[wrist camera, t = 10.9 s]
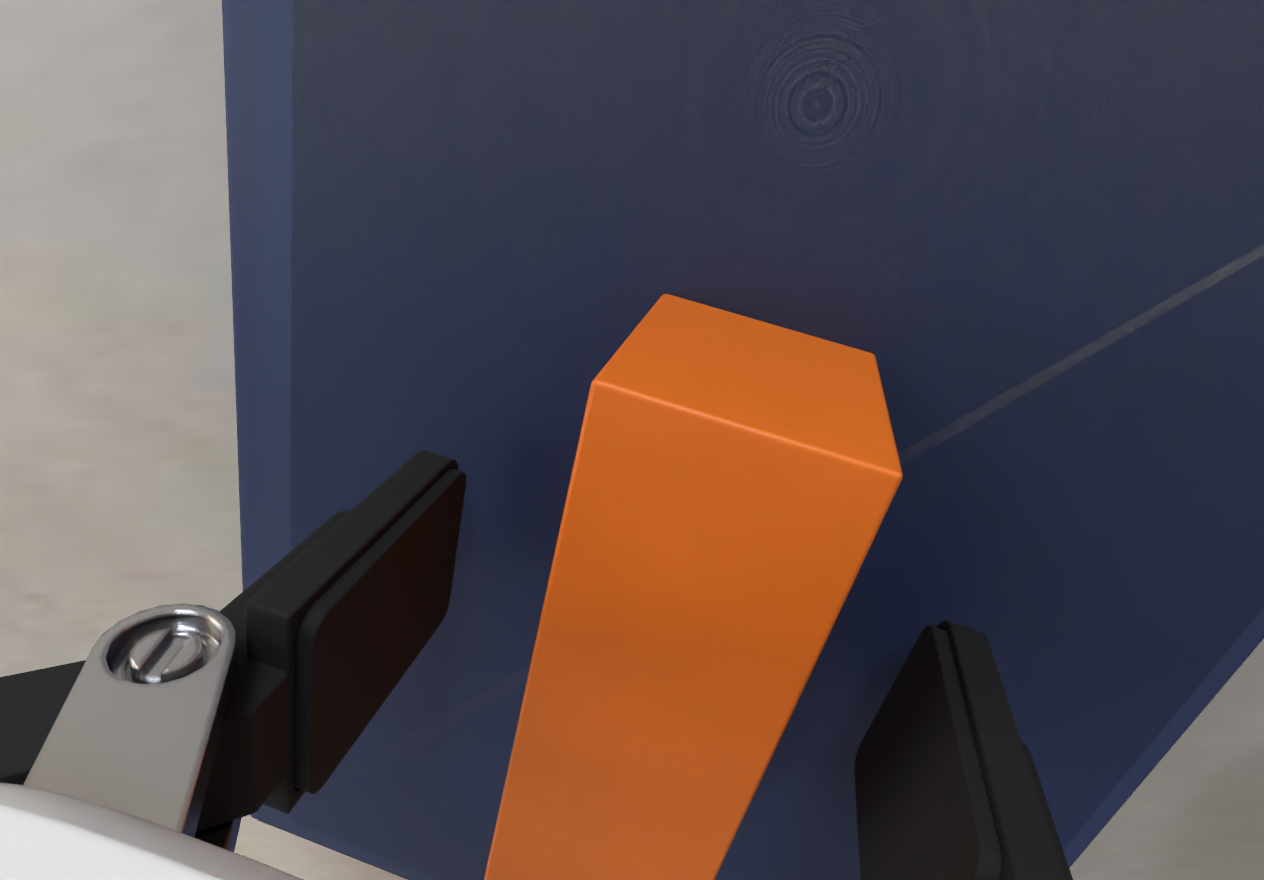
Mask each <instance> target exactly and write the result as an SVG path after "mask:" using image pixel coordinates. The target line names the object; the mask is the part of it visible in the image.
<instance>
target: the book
mask: <svg viewBox="0 0 1264 880" xmlns="http://www.w3.org/2000/svg"><path fill="white" fill-rule="evenodd" d="M222 13H223V41H224V70H225V98H226V127H227V155H228V183H229V212H230V240H231V269H232V297H233V325H234V354H235V382H236V411H237V439H238V467H239V496H240V524H241V553H242V581H243V591H245V590H246V589H247V588H248V587H249V586H251V585H252V584H253V583H254V582H255V581H256V580H258V579H259V578H260V577H261V576H262V575H263V574H265V573H266V572H267V571H268V570H269V569H271V568H272V567H273V566H274V565H275V564H276V563H278V562H279V561H280V560H281V559H282V558H284V557H285V556H286V555H287V554H288V553H289V552H291V551H292V550H293V549H294V548H295V547H296V546H298V545H299V544H300V543H301V542H302V541H304V540H305V539H306V538H307V537H308V536H309V535H311V534H312V533H313V532H314V531H315V530H316V529H318V528H319V527H320V526H321V525H322V524H324V523H325V522H326V521H327V520H328V519H329V518H331V517H332V516H333V515H335V514H336V513H338V512H340V511H351V510H352V509H353V508H354V507H355V506H356V505H357V504H359V503H360V502H361V501H362V500H363V499H364V498H366V497H367V496H368V495H369V494H370V493H371V492H372V491H374V490H375V489H376V488H377V487H378V486H379V485H380V484H382V483H383V482H384V481H385V480H386V479H387V478H388V477H390V476H391V475H392V474H393V473H394V472H395V471H397V470H398V469H399V468H400V467H401V466H402V465H403V464H405V463H406V462H407V461H408V460H409V459H410V458H411V457H413V456H414V455H415V454H416V453H417V452H419V451H420V450H426V451H429V452H432V453H435V454H438V455H441V456H444V457H447V458H450V459H454V460H456V461H457V463H458V471H461V472H464V473H465V474H466V488H465V495H464V502H463V509H462V517H461V524H460V531H459V538H458V546H457V553H456V560H455V567H454V575H453V582H452V589H451V596H450V602H449V606H448V610H447V612H446V615H445V617H444V619H443V621H442V622H441V624H440V626H439V627H438V628H437V630H436V631H435V632H434V634H433V635H432V637H431V638H430V639H429V641H428V642H427V643H426V645H425V646H424V648H423V649H422V650H421V652H420V653H419V655H418V656H417V657H416V659H415V660H414V661H413V663H412V664H411V666H410V667H409V668H408V670H407V671H406V672H405V674H404V675H403V677H402V678H401V679H400V681H399V682H398V684H397V685H396V686H395V688H394V689H393V690H392V692H391V693H390V695H389V696H388V697H387V699H386V700H385V701H384V703H383V704H382V706H381V707H380V708H379V710H378V711H377V713H376V714H375V715H374V717H373V718H372V719H371V721H370V722H369V724H368V725H367V726H366V728H365V729H364V730H363V732H362V733H361V735H360V736H359V737H358V739H357V740H356V742H355V743H354V744H353V746H352V747H351V748H350V750H349V751H348V753H347V754H346V755H345V757H344V758H343V759H342V761H341V762H340V764H339V765H338V766H337V768H336V769H335V771H334V772H333V773H332V775H331V776H330V777H329V779H328V780H327V782H326V783H325V784H324V786H323V787H322V788H321V789H320V790H319V791H318V792H317V793H315V794H310V793H308V792H305V793H304V794H303V795H302V797H301V798H300V799H299V801H298V802H297V803H296V805H295V806H294V807H293V809H292V810H291V811H290V813H289V814H286V813H284V812H281V811H279V810H276V809H274V808H271V807H269V806H266V805H263V804H262V806H261V807H260V808H259V810H258V811H257V812H256V813H253V814H251V816H252V817H253V818H255V819H258V820H259V821H261V822H264V823H266V824H269V825H271V826H274V827H276V828H279V829H282V830H284V831H287V832H289V833H292V834H294V835H297V836H299V837H302V838H304V839H307V840H309V841H312V842H314V843H317V844H319V845H322V846H324V847H327V848H330V849H332V850H335V851H337V852H340V853H342V854H345V855H347V856H350V857H352V858H355V859H357V860H360V861H362V862H365V863H367V864H370V865H372V866H375V867H378V868H380V869H383V870H385V871H388V872H390V873H393V874H395V875H398V876H400V877H403V878H405V879H408V880H484V877H485V873H486V868H487V863H488V859H489V854H490V849H491V845H492V840H493V836H494V831H495V826H496V822H497V817H498V812H499V808H500V803H501V799H502V794H503V789H504V785H505V780H506V775H507V771H508V766H509V761H510V757H511V752H512V748H513V743H514V738H515V734H516V729H517V724H518V720H519V715H520V711H521V706H522V701H523V697H524V692H525V687H526V683H527V678H528V674H529V669H530V664H531V660H532V655H533V650H534V646H535V641H536V637H537V632H538V627H539V623H540V618H541V613H542V609H543V604H544V600H545V595H546V590H547V586H548V581H549V576H550V572H551V567H552V562H553V558H554V553H555V549H556V544H557V539H558V535H559V530H560V525H561V521H562V516H563V512H564V507H565V502H566V498H567V493H568V488H569V484H570V479H571V475H572V470H573V465H574V461H575V456H576V451H577V447H578V442H579V438H580V433H581V428H582V424H583V419H584V414H585V410H586V405H587V400H588V396H589V391H590V387H591V382H592V381H593V380H594V379H595V377H596V376H597V375H598V374H599V372H600V371H601V370H602V369H603V367H604V366H605V365H606V364H607V362H608V361H609V360H610V359H611V358H612V356H613V355H614V354H615V353H616V351H617V350H618V349H619V348H620V346H621V345H622V344H623V343H624V342H625V340H626V339H627V338H628V337H629V335H630V334H631V333H632V332H633V330H634V329H635V328H636V327H637V326H638V324H639V323H640V322H641V321H642V319H643V318H644V317H645V316H646V314H647V313H648V312H649V311H650V310H651V308H652V307H653V306H654V305H655V303H656V302H657V301H658V300H659V298H660V297H661V296H662V295H663V294H670V295H673V296H677V297H680V298H683V299H687V300H690V301H694V302H697V303H701V304H704V305H708V306H711V307H714V308H718V309H721V310H725V311H728V312H732V313H735V314H739V315H742V316H746V317H749V318H752V319H756V320H759V321H763V322H766V323H770V324H773V325H777V326H780V327H783V328H787V329H790V330H794V331H797V332H801V333H804V334H808V335H811V336H814V337H818V338H821V339H825V340H828V341H832V342H835V343H839V344H842V345H846V346H849V347H852V348H856V349H859V350H863V351H866V352H870V353H873V354H874V355H875V357H876V361H877V366H878V370H879V374H880V379H881V383H882V387H883V392H884V396H885V400H886V405H887V409H888V413H889V418H890V422H891V426H892V430H893V435H894V439H895V443H896V448H897V452H898V456H899V461H900V465H901V469H902V476H903V478H902V480H901V483H900V485H899V487H898V489H897V491H896V493H895V495H894V498H893V500H892V502H891V504H890V506H889V508H888V510H887V512H886V515H885V517H884V519H883V521H882V523H881V525H880V527H879V530H878V532H877V534H876V536H875V538H874V540H873V542H872V545H871V547H870V549H869V551H868V553H867V555H866V557H865V559H864V562H863V564H862V566H861V568H860V570H859V572H858V574H857V577H856V579H855V581H854V583H853V585H852V587H851V589H850V592H849V594H848V596H847V598H846V600H845V602H844V604H843V606H842V609H841V611H840V613H839V615H838V617H837V619H836V621H835V624H834V626H833V628H832V630H831V632H830V634H829V636H828V639H827V641H826V643H825V645H824V647H823V649H822V651H821V653H820V656H819V658H818V660H817V662H816V664H815V666H814V668H813V671H812V673H811V675H810V677H809V679H808V681H807V683H806V685H805V688H804V690H803V692H802V694H801V696H800V698H799V700H798V703H797V705H796V707H795V709H794V711H793V713H792V715H791V718H790V720H789V722H788V724H787V726H786V728H785V730H784V732H783V735H782V737H781V739H780V741H779V743H778V745H777V747H776V750H775V752H774V754H773V756H772V758H771V760H770V762H769V765H768V767H767V769H766V771H765V773H764V775H763V777H762V779H761V782H760V784H759V786H758V788H757V790H756V792H755V794H754V797H753V799H752V801H751V803H750V805H749V807H748V809H747V811H746V814H745V816H744V818H743V820H742V822H741V824H740V826H739V829H738V831H737V833H736V835H735V837H734V839H733V841H732V844H731V846H730V848H729V850H728V852H727V854H726V856H725V858H724V861H723V863H722V865H721V867H720V869H719V871H718V873H717V876H716V878H715V880H860V863H859V845H858V828H857V810H856V792H855V775H854V765H855V758H856V754H857V750H858V747H859V745H860V743H861V741H862V739H863V738H864V736H865V734H866V732H867V730H868V728H869V727H870V725H871V723H872V721H873V719H874V718H875V716H876V714H877V712H878V710H879V708H880V707H881V705H882V703H883V701H884V699H885V697H886V696H887V694H888V692H889V690H890V688H891V686H892V685H893V683H894V681H895V679H896V677H897V676H898V674H899V672H900V670H901V668H902V666H903V665H904V663H905V661H906V659H907V657H908V655H909V654H910V652H911V650H912V648H913V646H914V644H915V643H916V641H917V639H918V637H919V635H920V634H921V632H922V630H923V629H924V628H925V627H926V626H928V625H930V626H933V627H937V626H938V624H939V623H941V622H942V621H945V620H947V621H950V622H953V623H956V624H959V625H962V626H965V627H968V628H971V629H974V630H977V631H980V632H983V633H984V634H986V636H987V638H988V640H989V643H990V647H991V650H992V653H993V656H994V659H995V662H996V665H997V668H998V672H999V675H1000V678H1001V681H1002V684H1003V687H1004V690H1005V693H1006V696H1007V700H1008V703H1009V706H1010V709H1011V712H1012V715H1013V718H1014V721H1015V725H1016V728H1017V731H1018V734H1019V737H1020V740H1021V741H1022V742H1023V743H1024V744H1026V745H1027V747H1028V749H1029V751H1030V753H1031V755H1032V758H1033V761H1034V764H1035V767H1036V770H1037V773H1038V776H1039V779H1040V782H1041V785H1042V788H1043V791H1044V794H1045V797H1046V800H1047V803H1048V806H1049V809H1050V812H1051V815H1052V818H1053V821H1054V824H1055V827H1056V830H1057V833H1058V836H1059V839H1060V842H1061V845H1062V848H1063V851H1064V854H1065V857H1066V860H1067V864H1068V867H1069V868H1070V866H1071V865H1072V864H1073V863H1074V862H1075V861H1076V859H1077V858H1078V857H1079V856H1080V855H1081V853H1082V852H1083V851H1084V850H1085V849H1086V848H1087V846H1088V845H1089V844H1090V843H1091V842H1092V840H1093V839H1094V838H1095V837H1096V836H1097V835H1098V833H1099V832H1100V831H1101V830H1102V829H1103V828H1104V826H1105V825H1106V824H1107V823H1108V822H1109V820H1110V819H1111V818H1112V817H1113V816H1114V815H1115V813H1116V812H1117V811H1118V810H1119V809H1120V807H1121V806H1122V805H1123V804H1124V803H1125V802H1126V800H1127V799H1128V798H1129V797H1130V796H1131V794H1132V793H1133V792H1134V791H1135V790H1136V789H1137V787H1138V786H1139V785H1140V784H1141V783H1142V781H1143V780H1144V779H1145V778H1146V777H1147V776H1148V774H1149V773H1150V772H1151V771H1152V770H1153V768H1154V767H1155V766H1156V765H1157V764H1158V763H1159V761H1160V760H1161V759H1162V758H1163V757H1164V755H1165V754H1166V753H1167V752H1168V751H1169V750H1170V748H1171V747H1172V746H1173V745H1174V744H1175V742H1176V741H1177V740H1178V739H1179V738H1180V737H1181V735H1182V734H1183V733H1184V732H1185V731H1186V730H1187V728H1188V727H1189V726H1190V725H1191V724H1192V722H1193V721H1194V720H1195V719H1196V718H1197V717H1198V715H1199V714H1200V713H1201V712H1202V711H1203V709H1204V708H1205V707H1206V706H1207V705H1208V704H1209V702H1210V701H1211V700H1212V699H1213V698H1214V696H1215V695H1216V694H1217V693H1218V692H1219V691H1220V689H1221V688H1222V687H1223V686H1224V685H1225V683H1226V682H1227V681H1228V680H1229V679H1230V678H1231V676H1232V675H1233V674H1234V673H1235V672H1236V670H1237V669H1238V668H1239V667H1240V666H1241V665H1242V663H1243V662H1244V661H1245V660H1246V659H1247V657H1248V656H1249V655H1250V654H1251V653H1252V652H1253V650H1254V649H1255V648H1256V647H1257V646H1258V644H1259V643H1260V642H1261V641H1262V640H1263V639H1264V0H222Z"/></svg>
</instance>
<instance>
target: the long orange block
mask: <svg viewBox="0 0 1264 880" xmlns="http://www.w3.org/2000/svg"><path fill="white" fill-rule="evenodd" d="M902 478H903V476H902V469H901V465H900V461H899V456H898V452H897V448H896V443H895V439H894V435H893V430H892V426H891V422H890V418H889V413H888V409H887V405H886V400H885V396H884V392H883V387H882V383H881V379H880V374H879V370H878V366H877V361H876V357H875V355H874V354H873V353H870V352H866V351H863V350H859V349H856V348H852V347H849V346H846V345H842V344H839V343H835V342H832V341H828V340H825V339H821V338H818V337H814V336H811V335H808V334H804V333H801V332H797V331H794V330H790V329H787V328H783V327H780V326H777V325H773V324H770V323H766V322H763V321H759V320H756V319H752V318H749V317H746V316H742V315H739V314H735V313H732V312H728V311H725V310H721V309H718V308H714V307H711V306H708V305H704V304H701V303H697V302H694V301H690V300H687V299H683V298H680V297H677V296H673V295H670V294H663V295H662V296H661V297H660V298H659V300H658V301H657V302H656V303H655V305H654V306H653V307H652V308H651V310H650V311H649V312H648V313H647V314H646V316H645V317H644V318H643V319H642V321H641V322H640V323H639V324H638V326H637V327H636V328H635V329H634V330H633V332H632V333H631V334H630V335H629V337H628V338H627V339H626V340H625V342H624V343H623V344H622V345H621V346H620V348H619V349H618V350H617V351H616V353H615V354H614V355H613V356H612V358H611V359H610V360H609V361H608V362H607V364H606V365H605V366H604V367H603V369H602V370H601V371H600V372H599V374H598V375H597V376H596V377H595V379H594V380H593V381H592V382H591V387H590V391H589V396H588V400H587V405H586V410H585V414H584V419H583V424H582V428H581V433H580V438H579V442H578V447H577V451H576V456H575V461H574V465H573V470H572V475H571V479H570V484H569V488H568V493H567V498H566V502H565V507H564V512H563V516H562V521H561V525H560V530H559V535H558V539H557V544H556V549H555V553H554V558H553V562H552V567H551V572H550V576H549V581H548V586H547V590H546V595H545V600H544V604H543V609H542V613H541V618H540V623H539V627H538V632H537V637H536V641H535V646H534V650H533V655H532V660H531V664H530V669H529V674H528V678H527V683H526V687H525V692H524V697H523V701H522V706H521V711H520V715H519V720H518V724H517V729H516V734H515V738H514V743H513V748H512V752H511V757H510V761H509V766H508V771H507V775H506V780H505V785H504V789H503V794H502V799H501V803H500V808H499V812H498V817H497V822H496V826H495V831H494V836H493V840H492V845H491V849H490V854H489V859H488V863H487V868H486V873H485V877H484V880H715V878H716V876H717V873H718V871H719V869H720V867H721V865H722V863H723V861H724V858H725V856H726V854H727V852H728V850H729V848H730V846H731V844H732V841H733V839H734V837H735V835H736V833H737V831H738V829H739V826H740V824H741V822H742V820H743V818H744V816H745V814H746V811H747V809H748V807H749V805H750V803H751V801H752V799H753V797H754V794H755V792H756V790H757V788H758V786H759V784H760V782H761V779H762V777H763V775H764V773H765V771H766V769H767V767H768V765H769V762H770V760H771V758H772V756H773V754H774V752H775V750H776V747H777V745H778V743H779V741H780V739H781V737H782V735H783V732H784V730H785V728H786V726H787V724H788V722H789V720H790V718H791V715H792V713H793V711H794V709H795V707H796V705H797V703H798V700H799V698H800V696H801V694H802V692H803V690H804V688H805V685H806V683H807V681H808V679H809V677H810V675H811V673H812V671H813V668H814V666H815V664H816V662H817V660H818V658H819V656H820V653H821V651H822V649H823V647H824V645H825V643H826V641H827V639H828V636H829V634H830V632H831V630H832V628H833V626H834V624H835V621H836V619H837V617H838V615H839V613H840V611H841V609H842V606H843V604H844V602H845V600H846V598H847V596H848V594H849V592H850V589H851V587H852V585H853V583H854V581H855V579H856V577H857V574H858V572H859V570H860V568H861V566H862V564H863V562H864V559H865V557H866V555H867V553H868V551H869V549H870V547H871V545H872V542H873V540H874V538H875V536H876V534H877V532H878V530H879V527H880V525H881V523H882V521H883V519H884V517H885V515H886V512H887V510H888V508H889V506H890V504H891V502H892V500H893V498H894V495H895V493H896V491H897V489H898V487H899V485H900V483H901V480H902Z"/></svg>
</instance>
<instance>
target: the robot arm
mask: <svg viewBox="0 0 1264 880" xmlns="http://www.w3.org/2000/svg"><path fill="white" fill-rule="evenodd" d="M465 488H466V474H465V473H464V472H461V471H458V463H457V461H456V460H454V459H450V458H447V457H444V456H441V455H438V454H435V453H432V452H429V451H426V450H420V451H419V452H417V453H416V454H415V455H414V456H413V457H411V458H410V459H409V460H408V461H407V462H406V463H405V464H403V465H402V466H401V467H400V468H399V469H398V470H397V471H395V472H394V473H393V474H392V475H391V476H390V477H388V478H387V479H386V480H385V481H384V482H383V483H382V484H380V485H379V486H378V487H377V488H376V489H375V490H374V491H372V492H371V493H370V494H369V495H368V496H367V497H366V498H364V499H363V500H362V501H361V502H360V503H359V504H357V505H356V506H355V507H354V508H353V509H352V510H351V511H340V512H338V513H336V514H335V515H333V516H332V517H331V518H329V519H328V520H327V521H326V522H325V523H324V524H322V525H321V526H320V527H319V528H318V529H316V530H315V531H314V532H313V533H312V534H311V535H309V536H308V537H307V538H306V539H305V540H304V541H302V542H301V543H300V544H299V545H298V546H296V547H295V548H294V549H293V550H292V551H291V552H289V553H288V554H287V555H286V556H285V557H284V558H282V559H281V560H280V561H279V562H278V563H276V564H275V565H274V566H273V567H272V568H271V569H269V570H268V571H267V572H266V573H265V574H263V575H262V576H261V577H260V578H259V579H258V580H256V581H255V582H254V583H253V584H252V585H251V586H249V587H248V588H247V589H246V590H245V591H243V592H242V593H241V594H240V595H239V596H238V597H236V598H235V599H234V600H233V601H232V602H231V603H229V604H228V605H227V606H226V607H225V608H223V609H222V610H221V611H220V612H219V611H217V610H214V609H211V608H208V607H205V606H202V605H192V604H173V605H162V606H158V607H154V608H150V609H147V610H143V611H140V612H137V613H135V614H133V615H131V616H129V617H127V618H125V619H123V620H121V621H119V622H118V623H116V624H115V625H114V626H112V627H111V628H110V629H108V630H107V631H106V632H104V633H103V634H102V636H101V637H100V638H99V640H98V641H97V642H96V644H95V645H94V646H93V648H92V650H91V652H90V654H89V656H88V658H87V660H85V661H80V662H75V663H70V664H65V665H60V666H55V667H50V668H45V669H40V670H35V671H30V672H25V673H20V674H15V675H10V676H5V677H0V880H303V879H301V878H298V877H296V876H293V875H290V874H288V873H285V872H283V871H280V870H278V869H275V868H273V867H270V866H268V865H265V864H263V863H260V862H258V861H255V860H253V859H250V858H247V857H245V856H242V855H239V854H237V853H234V849H235V845H236V840H237V836H238V831H239V827H240V822H241V817H244V816H247V815H250V814H253V813H256V812H257V811H258V810H259V808H260V807H261V806H262V804H263V805H266V806H269V807H271V808H274V809H276V810H279V811H281V812H284V813H286V814H289V813H290V811H291V810H292V809H293V807H294V806H295V805H296V803H297V802H298V801H299V799H300V798H301V797H302V795H303V794H304V793H305V792H308V793H310V794H315V793H317V792H318V791H319V790H320V789H321V788H322V787H323V786H324V784H325V783H326V782H327V780H328V779H329V777H330V776H331V775H332V773H333V772H334V771H335V769H336V768H337V766H338V765H339V764H340V762H341V761H342V759H343V758H344V757H345V755H346V754H347V753H348V751H349V750H350V748H351V747H352V746H353V744H354V743H355V742H356V740H357V739H358V737H359V736H360V735H361V733H362V732H363V730H364V729H365V728H366V726H367V725H368V724H369V722H370V721H371V719H372V718H373V717H374V715H375V714H376V713H377V711H378V710H379V708H380V707H381V706H382V704H383V703H384V701H385V700H386V699H387V697H388V696H389V695H390V693H391V692H392V690H393V689H394V688H395V686H396V685H397V684H398V682H399V681H400V679H401V678H402V677H403V675H404V674H405V672H406V671H407V670H408V668H409V667H410V666H411V664H412V663H413V661H414V660H415V659H416V657H417V656H418V655H419V653H420V652H421V650H422V649H423V648H424V646H425V645H426V643H427V642H428V641H429V639H430V638H431V637H432V635H433V634H434V632H435V631H436V630H437V628H438V627H439V626H440V624H441V622H442V621H443V619H444V617H445V615H446V612H447V610H448V606H449V602H450V596H451V589H452V582H453V575H454V567H455V560H456V553H457V546H458V538H459V531H460V524H461V517H462V509H463V502H464V495H465ZM854 775H855V792H856V810H857V828H858V845H859V863H860V880H1073V879H1072V876H1071V873H1070V870H1069V867H1068V864H1067V860H1066V857H1065V854H1064V851H1063V848H1062V845H1061V842H1060V839H1059V836H1058V833H1057V830H1056V827H1055V824H1054V821H1053V818H1052V815H1051V812H1050V809H1049V806H1048V803H1047V800H1046V797H1045V794H1044V791H1043V788H1042V785H1041V782H1040V779H1039V776H1038V773H1037V770H1036V767H1035V764H1034V761H1033V758H1032V755H1031V753H1030V751H1029V749H1028V747H1027V745H1026V744H1024V743H1023V742H1022V741H1021V740H1020V737H1019V734H1018V731H1017V728H1016V725H1015V721H1014V718H1013V715H1012V712H1011V709H1010V706H1009V703H1008V700H1007V696H1006V693H1005V690H1004V687H1003V684H1002V681H1001V678H1000V675H999V672H998V668H997V665H996V662H995V659H994V656H993V653H992V650H991V647H990V643H989V640H988V638H987V636H986V634H984V633H983V632H980V631H977V630H974V629H971V628H968V627H965V626H962V625H959V624H956V623H953V622H950V621H947V620H945V621H942V622H941V623H939V624H938V626H937V627H933V626H930V625H928V626H926V627H925V628H924V629H923V630H922V632H921V634H920V635H919V637H918V639H917V641H916V643H915V644H914V646H913V648H912V650H911V652H910V654H909V655H908V657H907V659H906V661H905V663H904V665H903V666H902V668H901V670H900V672H899V674H898V676H897V677H896V679H895V681H894V683H893V685H892V686H891V688H890V690H889V692H888V694H887V696H886V697H885V699H884V701H883V703H882V705H881V707H880V708H879V710H878V712H877V714H876V716H875V718H874V719H873V721H872V723H871V725H870V727H869V728H868V730H867V732H866V734H865V736H864V738H863V739H862V741H861V743H860V745H859V747H858V750H857V754H856V758H855V765H854Z"/></svg>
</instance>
